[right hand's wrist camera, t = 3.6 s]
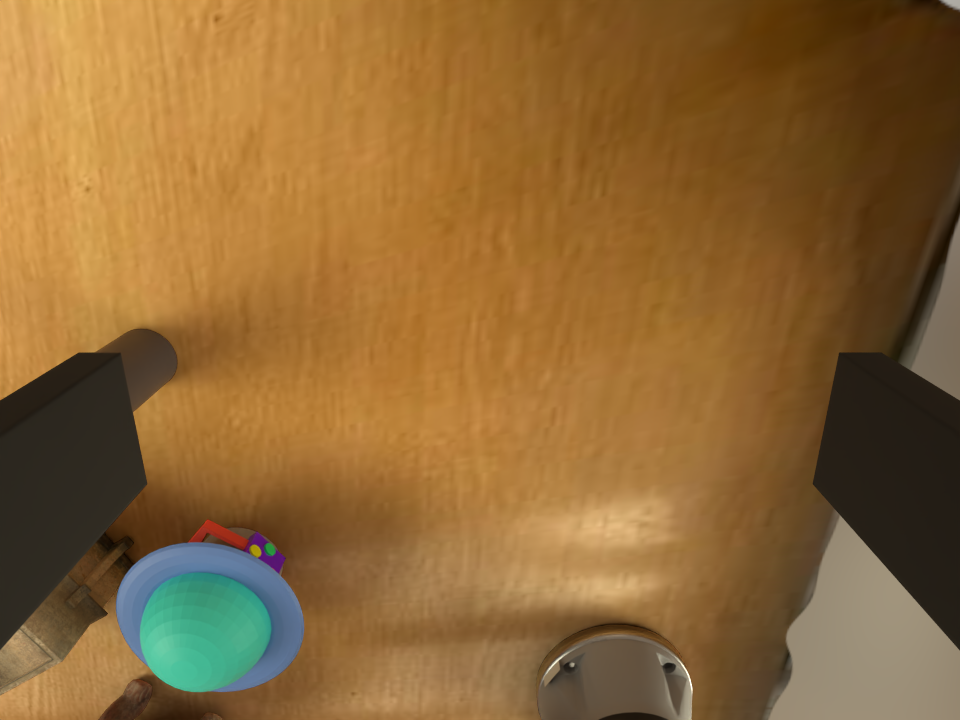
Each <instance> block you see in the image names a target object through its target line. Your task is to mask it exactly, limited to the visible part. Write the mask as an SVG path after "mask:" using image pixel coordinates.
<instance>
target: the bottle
mask: <svg viewBox="0 0 960 720" xmlns="http://www.w3.org/2000/svg"><path fill="white" fill-rule="evenodd" d="M95 353H121V356H122V361H123V366H124V371H125V376H126V381H127V386H128V391H129V396H130V401H131V406H132V411H133V412H134V411H135V410H136V409H137V408H138V407H140V406H141V405H142V404H143V403H144V402H145V401H146V400H148V399H149V398H150V397H151V396H152V395H153V394H154V393H155V392H157V391H158V390H159V389H160V388H161V387H162V386H163V385H165V384H166V383H167V382H168V381H169V380H170V379H171V378H172V377H173V375H174V374H175V372H176V368H177V357H176V353H175V351H174V349H173V347H172V345H171V344H170V343H169V342H168V341H167V340H166V339H165V338H164V337H163V336H161V335H160V334H158V333H156V332H153V331H151V330H146V329H135V330H131V331H129V332H127V333H125V334H123V335H122V336H120V337H119V338H117V339H116V340H114V341H112V342H111V343H109V344H108V345H106V346H105V347H103V348H101V349H100V350H98V351H97V352H95Z"/></svg>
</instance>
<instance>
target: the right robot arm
mask: <svg viewBox="0 0 960 720" xmlns="http://www.w3.org/2000/svg"><path fill="white" fill-rule="evenodd" d="M146 485H147V480H146V475H145V470H144V465H143V460H142V455H141V451H140V446H139V441H138V436H137V431H136V426H135V421H134V416H133V411H132V406H131V401H130V396H129V391H128V386H127V381H126V376H125V371H124V366H123V361H122V356H121V353H77V354H76V355H74V356H72V357H71V358H69V359H68V360H66V361H64V362H63V363H61V364H59V365H58V366H56V367H54V368H53V369H51V370H50V371H48V372H46V373H45V374H43V375H41V376H40V377H38V378H36V379H35V380H33V381H32V382H30V383H28V384H27V385H25V386H23V387H22V388H20V389H18V390H17V391H15V392H14V393H12V394H10V395H9V396H7V397H5V398H4V399H2V400H0V650H1V649H2V648H3V647H4V645H5V644H6V643H7V642H8V641H9V640H10V639H11V637H12V636H13V635H14V634H15V633H16V632H17V631H18V630H19V628H20V627H21V626H22V625H23V624H24V623H25V622H26V621H27V619H28V618H29V617H30V616H31V615H32V614H33V613H34V611H35V610H36V609H37V608H38V607H39V606H40V605H41V604H42V602H43V601H44V600H45V599H46V598H47V597H48V596H49V595H50V593H51V592H52V591H53V590H54V589H55V588H56V587H57V585H58V584H59V583H60V582H61V581H62V580H63V579H64V578H65V576H66V575H67V574H68V573H69V572H70V571H71V570H72V569H73V567H74V566H75V565H76V564H77V563H78V562H79V561H80V559H81V558H82V557H83V556H84V555H85V554H86V553H87V552H88V550H89V549H90V548H91V547H92V546H93V545H94V544H95V542H96V541H97V540H98V539H99V538H100V537H101V536H102V535H103V533H104V532H105V531H106V530H107V529H108V528H109V527H110V526H111V524H112V523H113V522H114V521H115V520H116V519H117V518H118V516H119V515H120V514H121V513H122V512H123V511H124V510H125V509H126V507H127V506H128V505H129V504H130V503H131V502H132V501H133V500H134V498H135V497H136V496H137V495H138V494H139V493H140V492H141V490H142V489H143V488H144V487H145V486H146ZM813 485H814V486H815V487H816V488H817V489H818V490H819V492H820V493H821V494H822V495H823V496H824V497H825V498H826V500H827V501H828V502H829V503H830V504H831V505H832V506H833V507H834V509H835V510H836V511H837V512H838V513H839V514H840V515H841V516H842V518H843V519H844V520H845V521H846V522H847V523H848V524H849V526H850V527H851V528H852V529H853V530H854V531H855V532H856V533H857V535H858V536H859V537H860V538H861V539H862V540H863V541H864V542H865V544H866V545H867V546H868V547H869V548H870V549H871V550H872V552H873V553H874V554H875V555H876V556H877V557H878V558H879V559H880V561H881V562H882V563H883V564H884V565H885V566H886V567H887V569H888V570H889V571H890V572H891V573H892V574H893V575H894V576H895V578H896V579H897V580H898V581H899V582H900V583H901V584H902V585H903V587H904V588H905V589H906V590H907V591H908V592H909V593H910V594H911V596H912V597H913V598H914V599H915V600H916V601H917V602H918V604H919V605H920V606H921V607H922V608H923V609H924V610H925V611H926V613H927V614H928V615H929V616H930V617H931V618H932V619H933V621H934V622H935V623H936V624H937V625H938V626H939V627H940V628H941V630H942V631H943V632H944V633H945V634H946V635H947V636H948V637H949V639H950V640H951V641H952V642H953V643H954V644H955V645H956V646H957V648H958V649H959V650H960V400H958V399H956V398H955V397H953V396H951V395H950V394H948V393H946V392H945V391H943V390H942V389H940V388H938V387H937V386H935V385H933V384H932V383H930V382H928V381H927V380H925V379H924V378H922V377H920V376H919V375H917V374H915V373H914V372H912V371H910V370H909V369H907V368H906V367H904V366H902V365H901V364H899V363H897V362H896V361H894V360H892V359H891V358H889V357H888V356H886V355H884V354H883V353H839V356H838V361H837V366H836V371H835V376H834V381H833V386H832V391H831V396H830V401H829V406H828V411H827V416H826V421H825V426H824V431H823V436H822V441H821V446H820V451H819V455H818V460H817V465H816V470H815V475H814V480H813ZM536 693H537V703H538V710H539V714H540V717H541V719H542V720H691V715H692V685H691V680H690V677H689V674H688V672H687V669H686V666H685V664H684V661H683V659H682V657H681V655H680V654H679V652H678V651H677V650H676V648H675V647H674V646H673V645H672V644H671V643H670V642H668V641H667V640H666V639H665V638H663V637H661V636H660V635H658V634H656V633H654V632H652V631H649V630H647V629H643V628H640V627H635V626H629V625H604V626H598V627H593V628H590V629H586V630H583V631H581V632H578V633H576V634H574V635H572V636H570V637H568V638H567V639H565V640H564V641H562V642H561V643H559V644H558V645H557V646H556V647H555V648H554V649H553V650H552V651H551V652H550V653H549V654H548V655H547V657H546V658H545V660H544V661H543V663H542V665H541V667H540V669H539V672H538V675H537V680H536Z"/></svg>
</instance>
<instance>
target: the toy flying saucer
mask: <svg viewBox="0 0 960 720" xmlns="http://www.w3.org/2000/svg"><path fill="white" fill-rule="evenodd" d="M207 533H209V534H211V535H210V536H209V537H208V538H207V539H206V540H205V541H204V542H203V540H204V538H205V536H206V534H207ZM202 542H203V543H202ZM285 559H286V558H285V557H284V556H283V555H282V554H281V553H280V552H279V551H278V549H277V547H276V546H275V545H274V544H273V543H272V542H271V541H270V540H269V539H268V538H266V537H265V536H264V535H262V534H260V533H258V532H256V531H253V530H250V529H246V528H236V527H232V528H224V527H222V526H220V525H218V524H216V523H214V522H212V521H210V520H208V519H207V520H206V522H205V523H204V524H203V525H202V526H201V527H200V529H199V530H198V531H197V532H196V533H195V534H194V536H193V537H192V538H191V539H190V540H189V541H188V543H181V544H175V545H170V546H167V547H164V548H161V549H158V550H156V551H154V552H152V553H149V554H148V555H146V556H145V557H143V558H142V559H140V560H139V561H138V562H137V563H136V564H135V565H133V566H132V567H131V569H130V570H129V571H128V572H127V574H126V575H125V577H124V578H123V580H122V582H121V584H120V587H119V590H118V593H117V599H116V614H117V619H118V623H119V626H120V629H121V632H122V634H123V636H124V638H125V640H126V642H127V643H128V645H129V646H130V648H131V649H132V651H133V652H134V653H135V654H136V655H137V656H138V658H139V659H140V660H142V661H143V662H144V663H145V664H146V665H147V666H148V667H150V669H151V670H152V672H153V673H154V674H155V675H156V676H157V677H158V678H159V679H161V680H162V681H164V682H165V683H167V684H168V685H171V686H173V687H175V688H178V689H181V690H184V691H190V692H207V691H215V692H228V691H238V690H244V689H248V688H252V687H255V686H258V685H260V684H263V683H265V682H267V681H269V680H271V679H273V678H274V677H276V676H277V675H279V674H280V673H281V672H283V671H284V670H285V669H286V668H287V667H288V666H289V665H290V664H291V663H292V661H293V660H294V658H295V657H296V655H297V653H298V651H299V649H300V647H301V644H302V640H303V634H304V619H303V614H302V610H301V607H300V604H299V602H298V599H297V598H296V596H295V594H294V592H293V590H292V589H291V588H290V586H289V585H288V584H287V582H286V581H285V580H284V579H283V578H282V577H281V575H282V571H283V563H284V561H285Z"/></svg>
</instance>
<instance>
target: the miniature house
mask: <svg viewBox="0 0 960 720" xmlns="http://www.w3.org/2000/svg"><path fill="white" fill-rule="evenodd" d="M133 543H134V542H133V541H132V540H131V539H130V538H129V537H128V536H127V537H125V538H123V539H121V540H120V541H118V542H116V543H113V542H112V541H111V540H110V539H109V538H108V537H107V536H106V535H105V534H104V533H103V535H102V536H101V537H100V538H99V539H98V540H97V541H96V542H95V544H94V545H93V546H92V547H91V548H90V549H89V550H88V552H87V553H86V554H85V555H84V556H83V557H82V558H81V559H80V561H79V562H78V563H77V564H76V565H75V566H74V567H73V569H72V570H71V571H70V572H69V573H68V574H67V575H66V576H65V578H64V579H63V580H62V581H61V582H60V583H59V584H58V585H57V587H56V588H55V589H54V590H53V591H52V592H51V593H50V595H49V596H48V597H47V598H46V599H45V600H44V601H43V602H42V604H41V605H40V606H39V607H38V608H37V609H36V610H35V611H34V613H33V614H32V615H31V616H30V617H29V618H28V619H27V621H26V622H25V623H24V624H23V625H22V626H21V627H20V628H19V630H18V631H17V632H16V633H15V634H14V635H13V636H12V637H11V639H10V640H9V641H8V642H7V643H6V644H5V645H4V647H3V648H2V649H1V650H0V695H2V694H4V693H5V692H7V691H9V690H11V689H13V688H15V687H16V686H18V685H20V684H22V683H24V682H26V681H27V680H29V679H31V678H33V677H35V676H37V675H38V674H40V673H42V672H44V671H46V670H48V669H49V668H51V667H53V666H55V665H57V664H59V663H60V662H62V661H63V660H64V658H65V657H66V656H67V654H68V653H69V652H70V650H71V649H72V648H73V646H74V645H75V644H76V643H77V641H78V640H79V639H80V637H81V636H82V635H83V633H84V632H85V631H86V629H87V628H88V627H89V625H90V624H92V623H94V622H95V621H97V620H99V619H101V618H103V617H104V616H106V615H107V614H108V613H107V612H106V611H105V610H104V609H103V607H104V605H105V604H106V603H107V602H108V600H109V599H110V598H111V596H112V595H113V594H114V592H115V591H116V590H117V588H118V587H119V586H120V584H121V582H122V580H123V578H124V577H125V575H126V574H127V572H128V571H129V570H130V569H131V567H132V566H133V565H134V564H133V563H132V562H131V561H130V560H129V559H128V558H127V557H126V556H125V555H124V554H123V553H124V552H125V551H126V550H127V549H129V548H130V547H131V546H132V544H133Z"/></svg>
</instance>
